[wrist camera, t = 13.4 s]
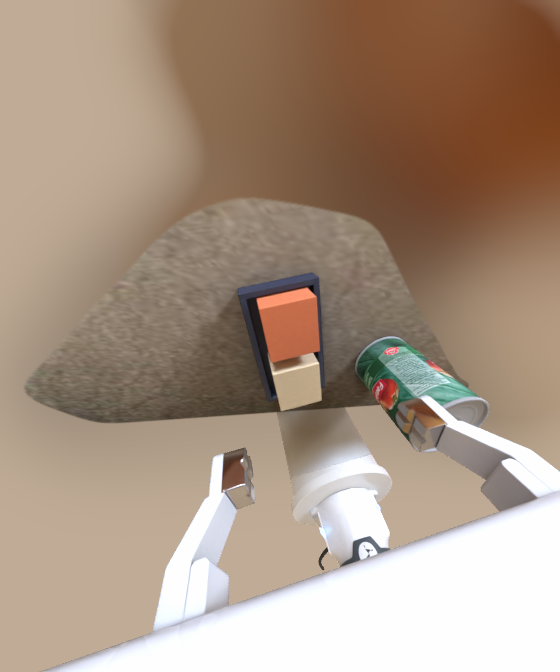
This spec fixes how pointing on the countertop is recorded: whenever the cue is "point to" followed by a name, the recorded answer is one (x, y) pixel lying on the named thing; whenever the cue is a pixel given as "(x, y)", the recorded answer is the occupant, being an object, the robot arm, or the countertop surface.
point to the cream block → (296, 381)
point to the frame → (256, 329)
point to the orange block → (289, 323)
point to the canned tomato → (414, 382)
